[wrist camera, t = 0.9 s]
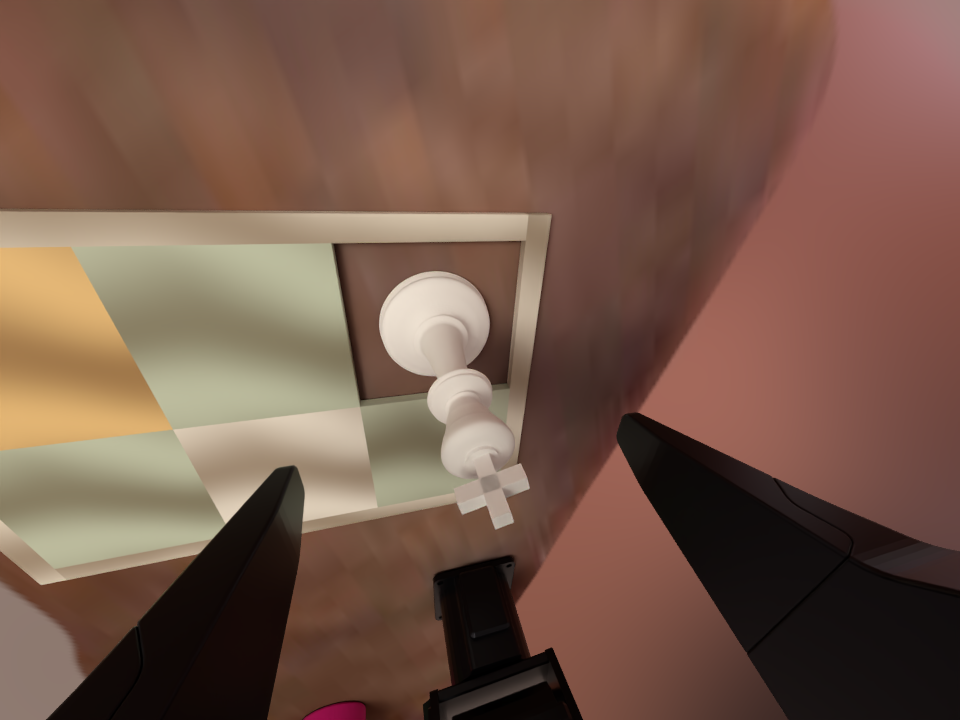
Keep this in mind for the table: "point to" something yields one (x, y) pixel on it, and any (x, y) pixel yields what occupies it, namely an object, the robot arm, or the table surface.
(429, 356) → the chess piece
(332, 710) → the pepper mill
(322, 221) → the game board
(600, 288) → the table surface
